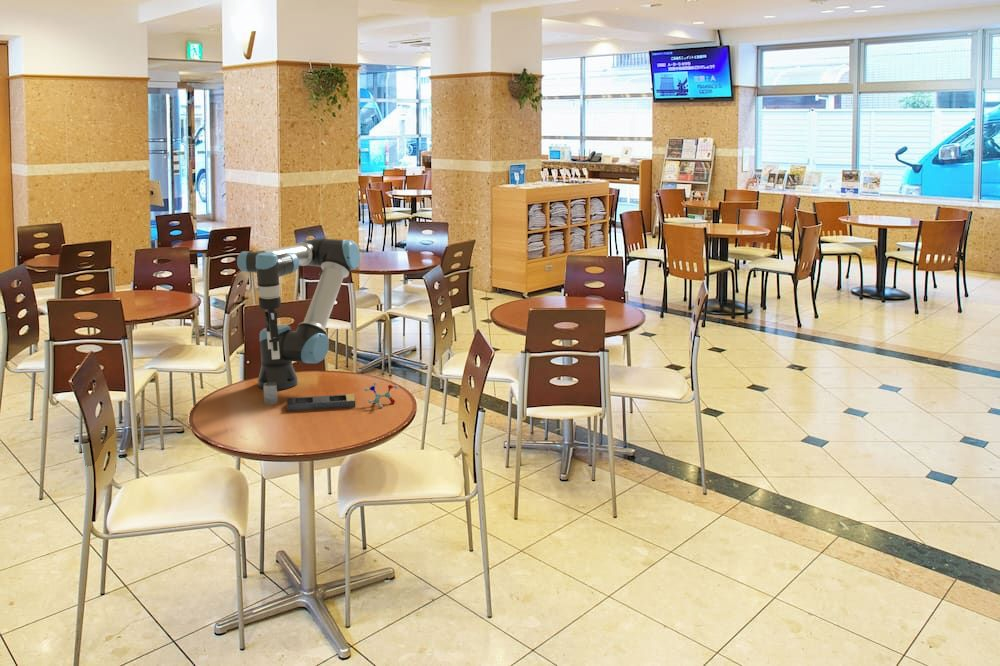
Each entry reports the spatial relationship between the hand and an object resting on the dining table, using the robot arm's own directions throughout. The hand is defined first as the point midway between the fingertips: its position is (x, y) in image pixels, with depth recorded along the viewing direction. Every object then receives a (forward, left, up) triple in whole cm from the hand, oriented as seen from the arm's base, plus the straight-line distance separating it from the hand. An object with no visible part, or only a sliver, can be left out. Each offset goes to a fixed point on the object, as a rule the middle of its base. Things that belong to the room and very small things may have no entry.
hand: (273, 353), depth 317 cm
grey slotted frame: (+6, +16, -19) cm, 25 cm away
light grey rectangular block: (-2, -2, -19) cm, 19 cm away
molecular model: (+8, +37, -19) cm, 42 cm away
